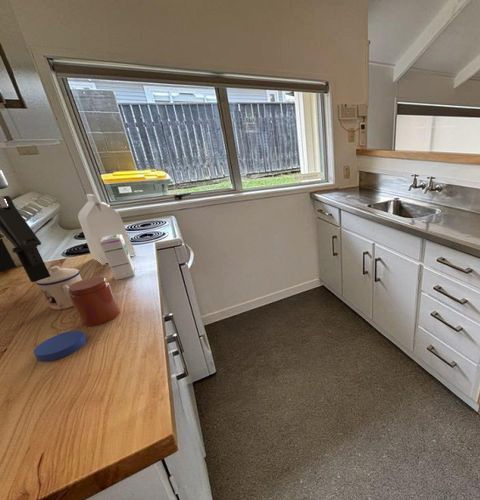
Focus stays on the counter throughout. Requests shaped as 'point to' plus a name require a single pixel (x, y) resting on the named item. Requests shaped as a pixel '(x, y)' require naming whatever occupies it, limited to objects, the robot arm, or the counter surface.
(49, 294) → the teacup with lid
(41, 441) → the counter surface
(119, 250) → the syrup box
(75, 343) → the jam lid
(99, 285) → the jam jar
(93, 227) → the milk
